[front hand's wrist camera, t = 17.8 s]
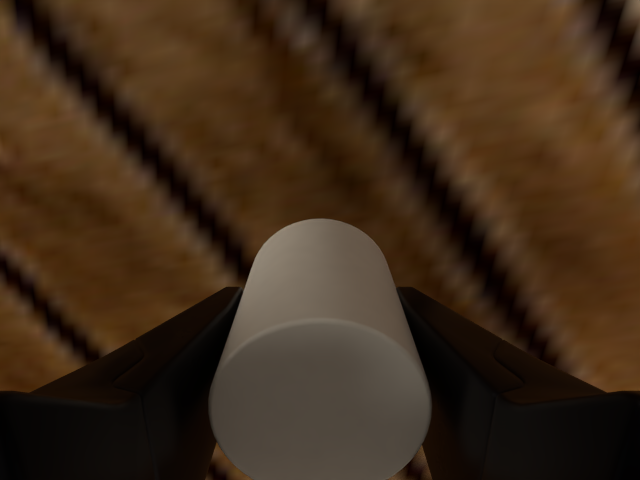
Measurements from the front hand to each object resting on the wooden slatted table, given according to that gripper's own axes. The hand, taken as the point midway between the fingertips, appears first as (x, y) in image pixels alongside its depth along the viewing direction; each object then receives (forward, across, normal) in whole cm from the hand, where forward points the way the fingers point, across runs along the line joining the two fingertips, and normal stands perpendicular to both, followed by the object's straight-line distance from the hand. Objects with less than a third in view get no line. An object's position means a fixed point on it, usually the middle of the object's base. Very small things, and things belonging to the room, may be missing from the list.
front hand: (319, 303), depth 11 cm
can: (+1, 0, 0) cm, 1 cm away
